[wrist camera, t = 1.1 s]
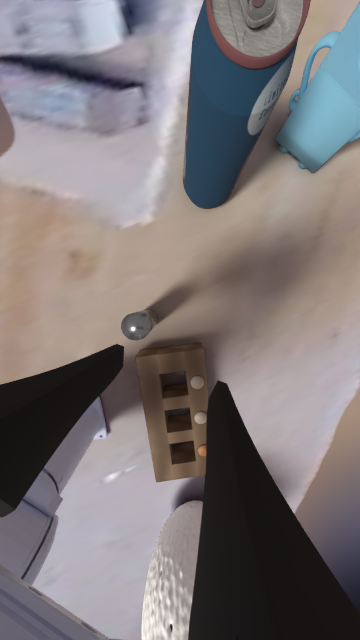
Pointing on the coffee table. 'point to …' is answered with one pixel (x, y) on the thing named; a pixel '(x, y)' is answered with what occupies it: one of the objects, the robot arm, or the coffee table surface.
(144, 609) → the white textured round lump
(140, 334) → the pin
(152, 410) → the pin board
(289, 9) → the soda can
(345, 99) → the teapot
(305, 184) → the coffee table surface
